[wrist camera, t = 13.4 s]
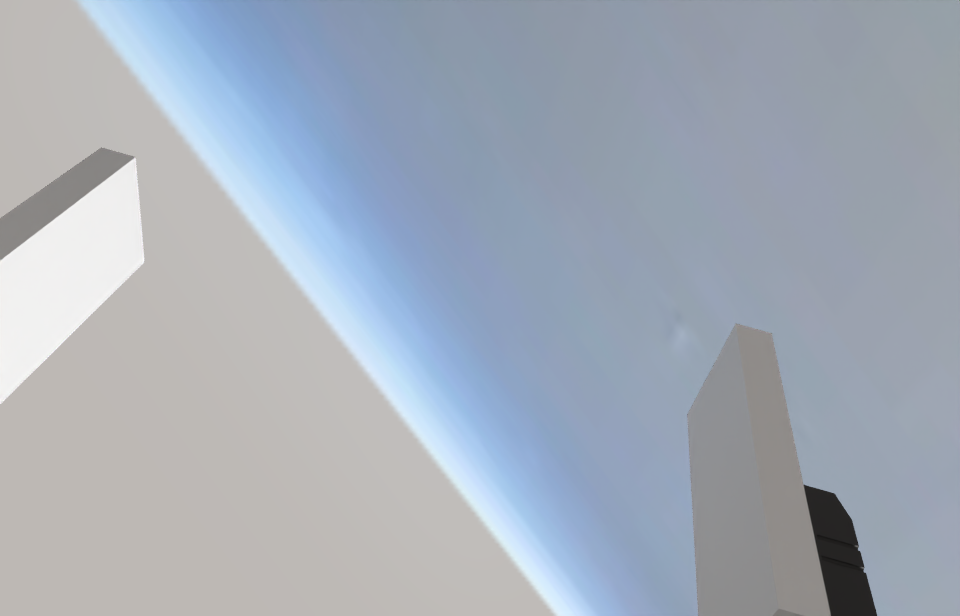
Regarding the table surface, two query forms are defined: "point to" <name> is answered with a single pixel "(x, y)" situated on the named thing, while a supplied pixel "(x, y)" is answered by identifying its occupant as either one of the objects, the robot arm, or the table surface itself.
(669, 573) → the table surface
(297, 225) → the table surface
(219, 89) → the table surface
